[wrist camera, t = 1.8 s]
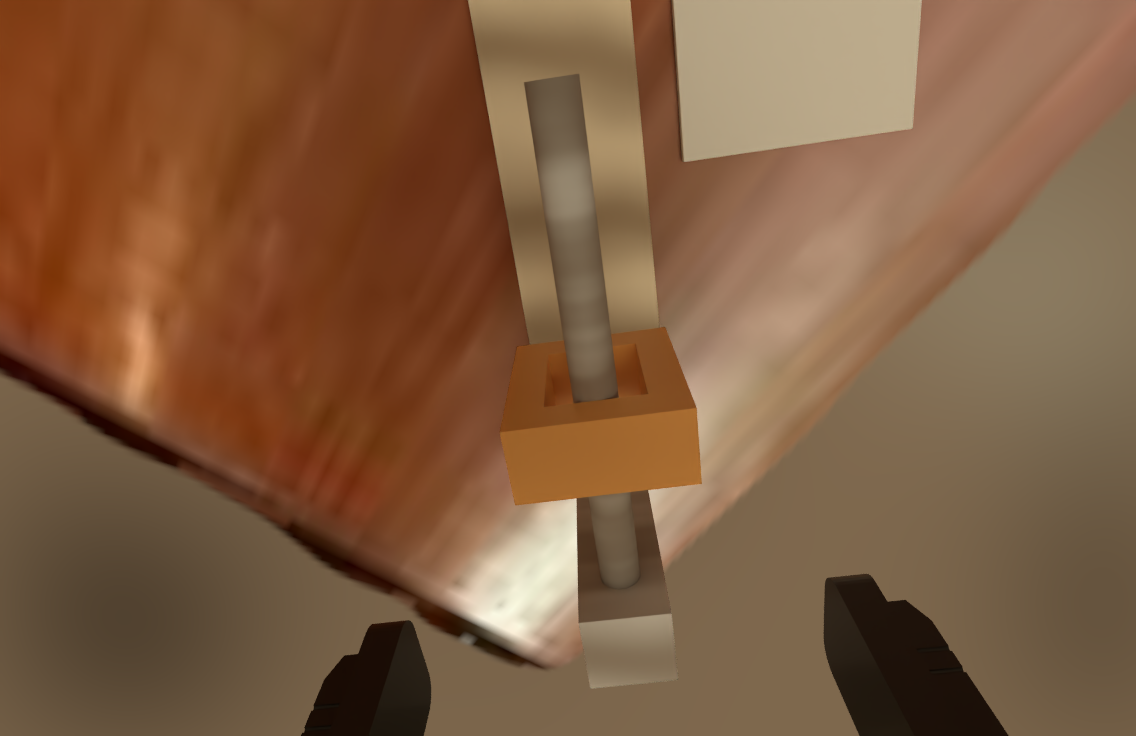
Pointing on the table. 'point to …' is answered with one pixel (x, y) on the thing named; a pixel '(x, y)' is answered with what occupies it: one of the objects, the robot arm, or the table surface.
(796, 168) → the table surface
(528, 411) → the loop
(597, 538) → the hook stand
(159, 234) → the table surface
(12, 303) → the table surface
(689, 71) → the mat
